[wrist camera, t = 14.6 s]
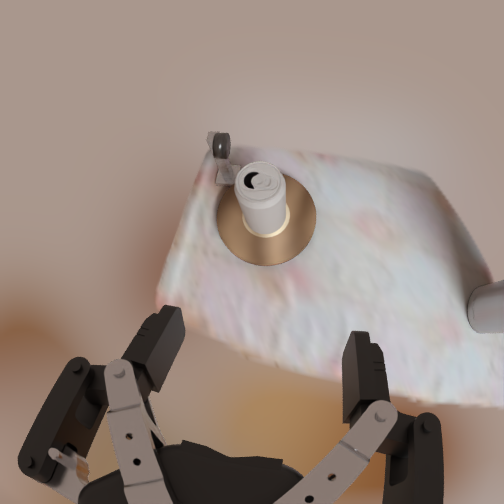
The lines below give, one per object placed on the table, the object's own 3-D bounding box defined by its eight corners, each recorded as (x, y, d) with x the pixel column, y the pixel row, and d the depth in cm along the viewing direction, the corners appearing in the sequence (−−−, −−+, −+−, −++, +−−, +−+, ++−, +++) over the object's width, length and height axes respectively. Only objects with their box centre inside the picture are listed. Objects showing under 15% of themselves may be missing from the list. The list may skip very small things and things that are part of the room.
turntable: (317, 179, 45) (318, 176, 44) (311, 271, 42) (311, 269, 40) (227, 172, 48) (226, 169, 46) (210, 259, 44) (208, 258, 43)
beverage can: (251, 195, 45) (240, 154, 33) (290, 203, 43) (290, 163, 32) (241, 230, 43) (225, 198, 32) (280, 240, 42) (278, 209, 31)
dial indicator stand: (241, 168, 49) (227, 123, 37) (237, 190, 48) (221, 149, 36) (220, 167, 50) (202, 124, 37) (215, 189, 49) (194, 149, 36)
